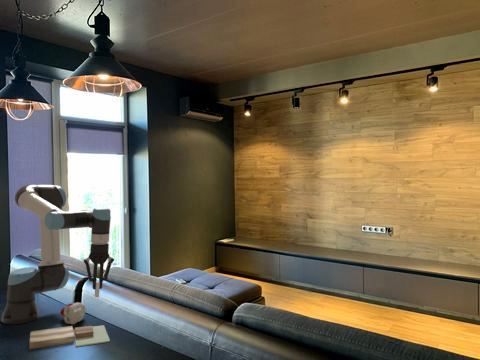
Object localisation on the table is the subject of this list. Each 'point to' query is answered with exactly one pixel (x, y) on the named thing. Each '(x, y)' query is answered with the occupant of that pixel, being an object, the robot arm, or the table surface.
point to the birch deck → (51, 337)
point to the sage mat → (93, 337)
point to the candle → (73, 313)
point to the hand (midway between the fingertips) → (96, 296)
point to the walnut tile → (83, 332)
